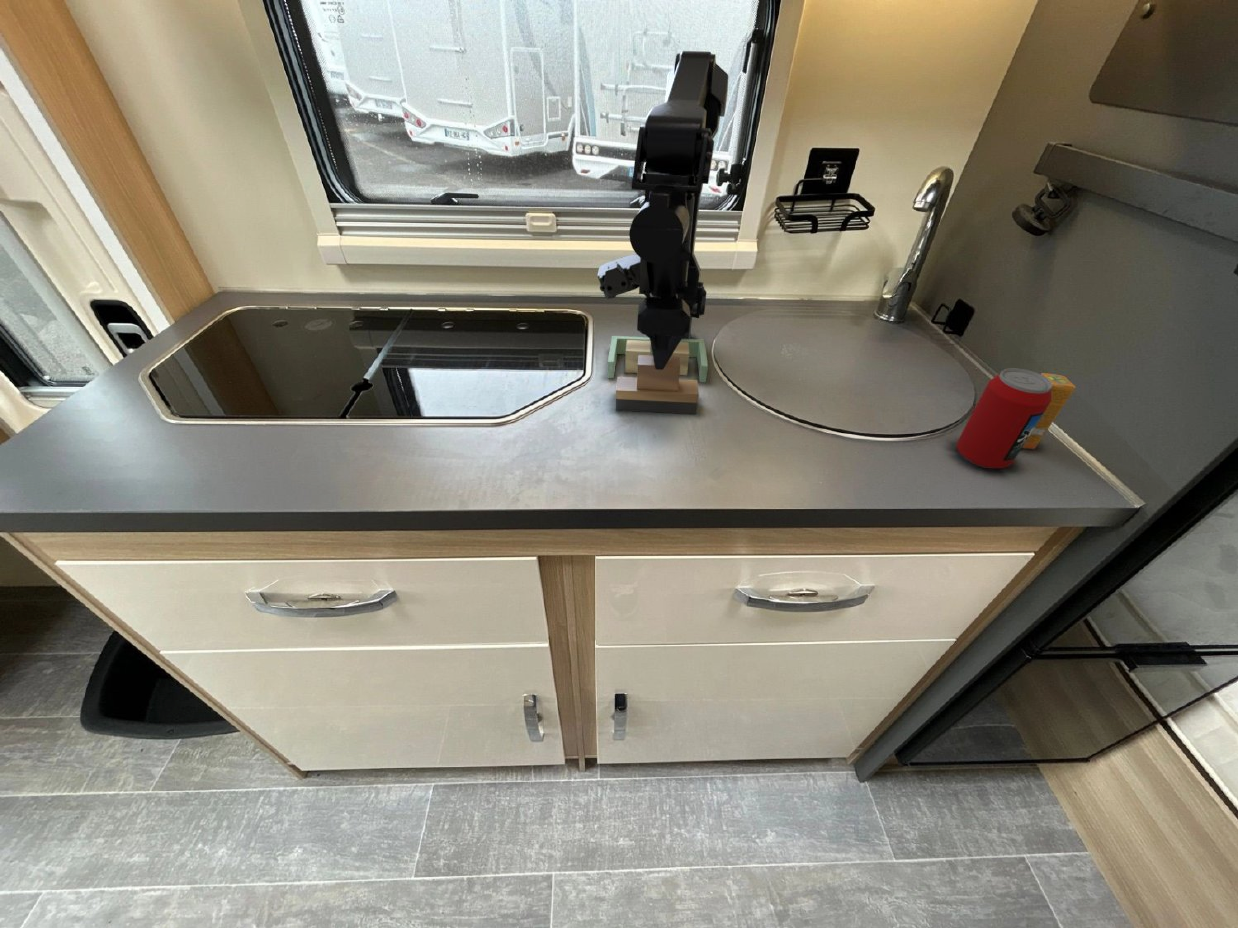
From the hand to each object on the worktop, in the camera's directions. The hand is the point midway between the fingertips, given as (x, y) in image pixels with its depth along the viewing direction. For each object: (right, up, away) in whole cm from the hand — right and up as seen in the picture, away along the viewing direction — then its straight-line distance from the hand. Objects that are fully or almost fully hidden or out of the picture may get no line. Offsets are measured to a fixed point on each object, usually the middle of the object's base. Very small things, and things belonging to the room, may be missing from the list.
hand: (659, 353), depth 74 cm
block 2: (+4, 0, +15) cm, 15 cm away
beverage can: (+43, -15, -3) cm, 46 cm away
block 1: (-3, +1, +15) cm, 15 cm away
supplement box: (+50, -13, 0) cm, 52 cm away
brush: (0, -7, +6) cm, 9 cm away
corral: (+1, +1, +15) cm, 15 cm away
